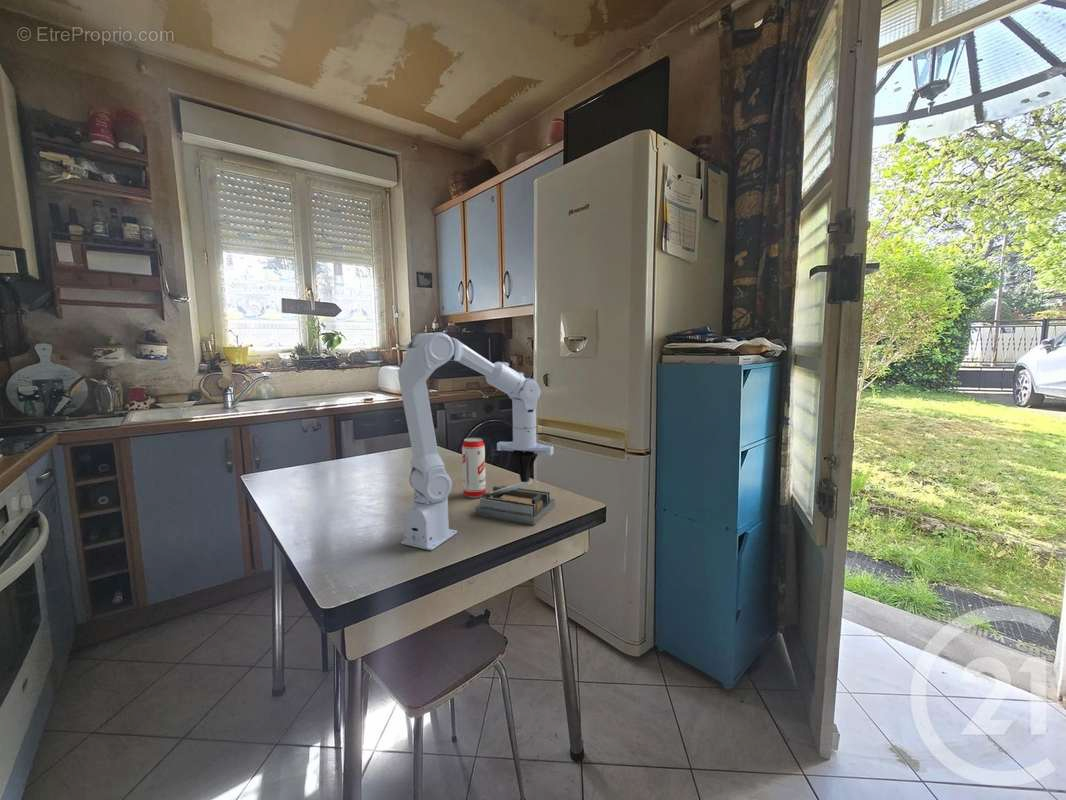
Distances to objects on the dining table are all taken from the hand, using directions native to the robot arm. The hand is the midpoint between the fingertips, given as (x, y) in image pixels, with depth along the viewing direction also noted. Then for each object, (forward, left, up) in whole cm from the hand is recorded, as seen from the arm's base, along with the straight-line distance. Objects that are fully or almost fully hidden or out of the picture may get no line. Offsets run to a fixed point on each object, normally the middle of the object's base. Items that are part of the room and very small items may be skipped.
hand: (525, 480), depth 106 cm
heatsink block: (0, +3, -8) cm, 9 cm away
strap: (0, +4, -3) cm, 5 cm away
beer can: (+6, +19, -8) cm, 21 cm away
